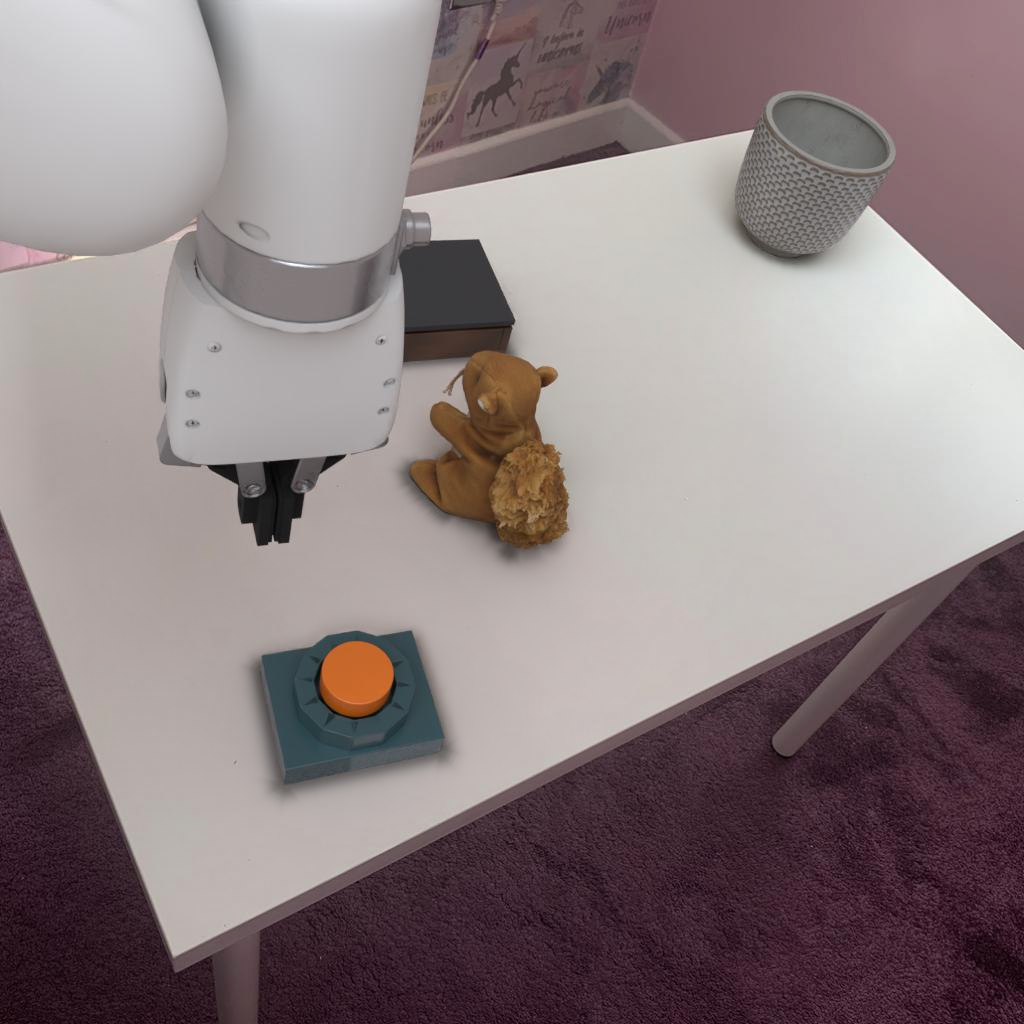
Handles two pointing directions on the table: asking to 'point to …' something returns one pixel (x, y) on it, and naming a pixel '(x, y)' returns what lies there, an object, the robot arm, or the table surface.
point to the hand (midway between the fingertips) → (267, 522)
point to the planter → (810, 172)
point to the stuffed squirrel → (498, 453)
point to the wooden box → (455, 342)
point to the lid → (451, 287)
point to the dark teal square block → (342, 739)
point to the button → (356, 679)
